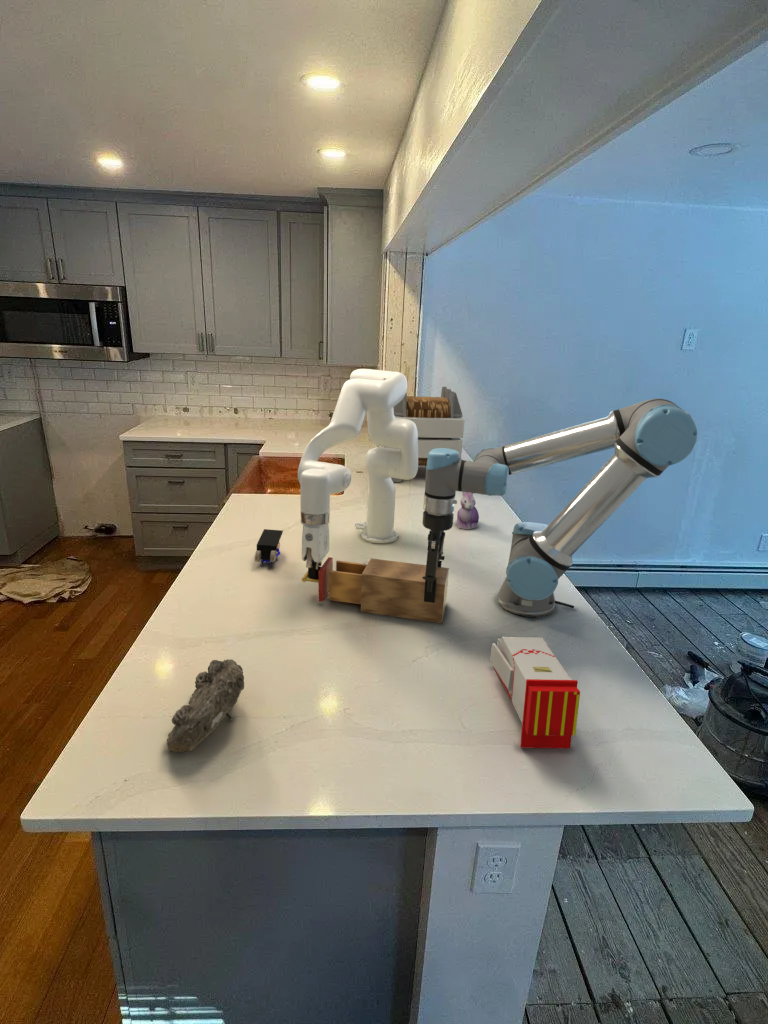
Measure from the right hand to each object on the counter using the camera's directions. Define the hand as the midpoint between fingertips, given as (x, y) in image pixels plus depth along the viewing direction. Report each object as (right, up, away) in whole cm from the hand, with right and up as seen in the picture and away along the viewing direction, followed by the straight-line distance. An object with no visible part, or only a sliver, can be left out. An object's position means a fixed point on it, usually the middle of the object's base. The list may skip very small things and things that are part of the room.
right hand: (432, 591), depth 147 cm
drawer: (-22, -2, +6) cm, 23 cm away
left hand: (-31, +2, +6) cm, 32 cm away
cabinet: (-7, -5, +3) cm, 9 cm away
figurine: (+18, +16, +63) cm, 68 cm away
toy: (+17, -18, -31) cm, 39 cm away
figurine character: (-48, +6, +28) cm, 56 cm away
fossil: (-45, -18, -39) cm, 63 cm away
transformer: (+5, +40, +128) cm, 134 cm away
